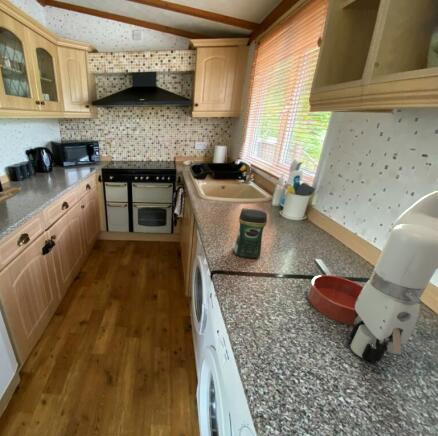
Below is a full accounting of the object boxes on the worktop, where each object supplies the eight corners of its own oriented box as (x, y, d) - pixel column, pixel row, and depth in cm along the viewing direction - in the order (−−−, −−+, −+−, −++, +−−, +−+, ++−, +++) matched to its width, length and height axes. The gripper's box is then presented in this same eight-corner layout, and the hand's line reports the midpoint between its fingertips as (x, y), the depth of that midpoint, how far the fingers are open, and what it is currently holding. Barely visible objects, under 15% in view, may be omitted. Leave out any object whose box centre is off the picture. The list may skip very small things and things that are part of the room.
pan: (354, 292, 75) (359, 278, 73) (386, 330, 62) (393, 315, 60) (300, 284, 79) (304, 271, 77) (319, 319, 65) (324, 305, 63)
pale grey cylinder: (367, 344, 58) (377, 326, 55) (379, 361, 54) (389, 342, 51) (346, 341, 59) (354, 322, 56) (356, 357, 55) (365, 338, 52)
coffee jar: (258, 250, 99) (267, 207, 91) (260, 260, 92) (270, 215, 84) (233, 246, 101) (240, 205, 94) (233, 256, 94) (241, 212, 87)
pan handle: (319, 262, 85) (320, 259, 84) (333, 279, 76) (334, 276, 75) (313, 261, 85) (314, 258, 85) (325, 278, 76) (327, 275, 76)
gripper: (456, 319, 40) (410, 389, 48) (389, 264, 56) (361, 323, 63) (403, 311, 42) (365, 380, 49) (351, 259, 57) (328, 318, 64)
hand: (363, 348), depth 56 cm, fingers closed on pale grey cylinder, 4 cm apart
